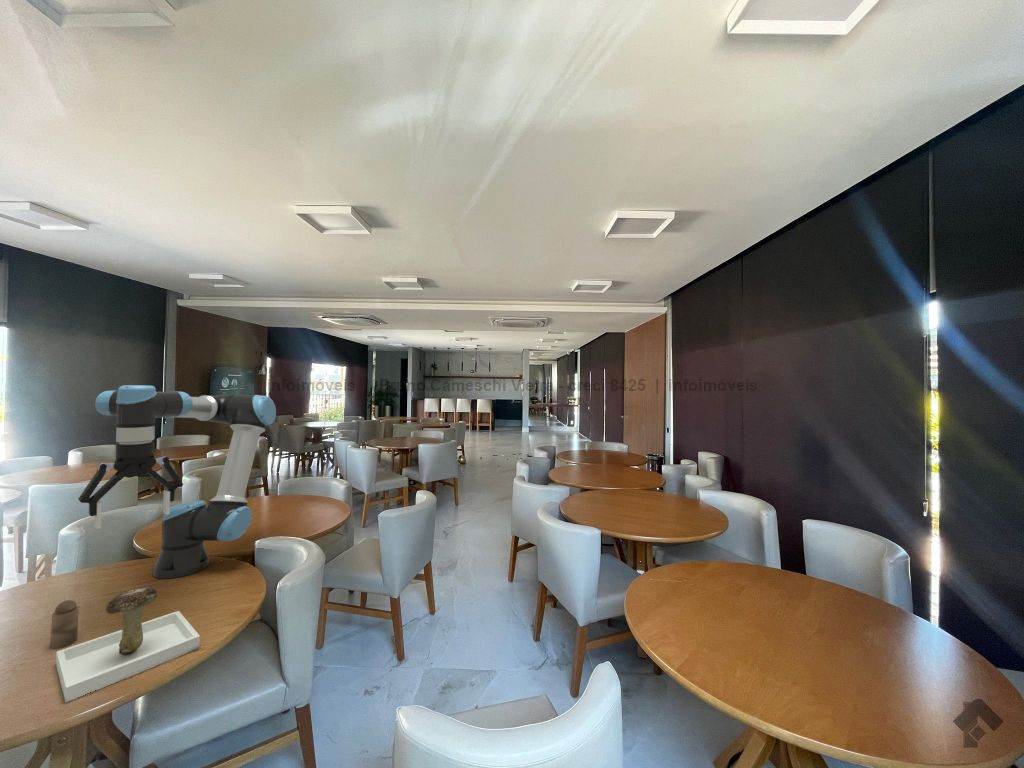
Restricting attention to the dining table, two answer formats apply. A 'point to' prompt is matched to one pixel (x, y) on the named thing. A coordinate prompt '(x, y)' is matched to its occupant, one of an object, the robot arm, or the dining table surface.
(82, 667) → the tray
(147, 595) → the mushroom
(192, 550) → the robot arm
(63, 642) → the pepper mill
